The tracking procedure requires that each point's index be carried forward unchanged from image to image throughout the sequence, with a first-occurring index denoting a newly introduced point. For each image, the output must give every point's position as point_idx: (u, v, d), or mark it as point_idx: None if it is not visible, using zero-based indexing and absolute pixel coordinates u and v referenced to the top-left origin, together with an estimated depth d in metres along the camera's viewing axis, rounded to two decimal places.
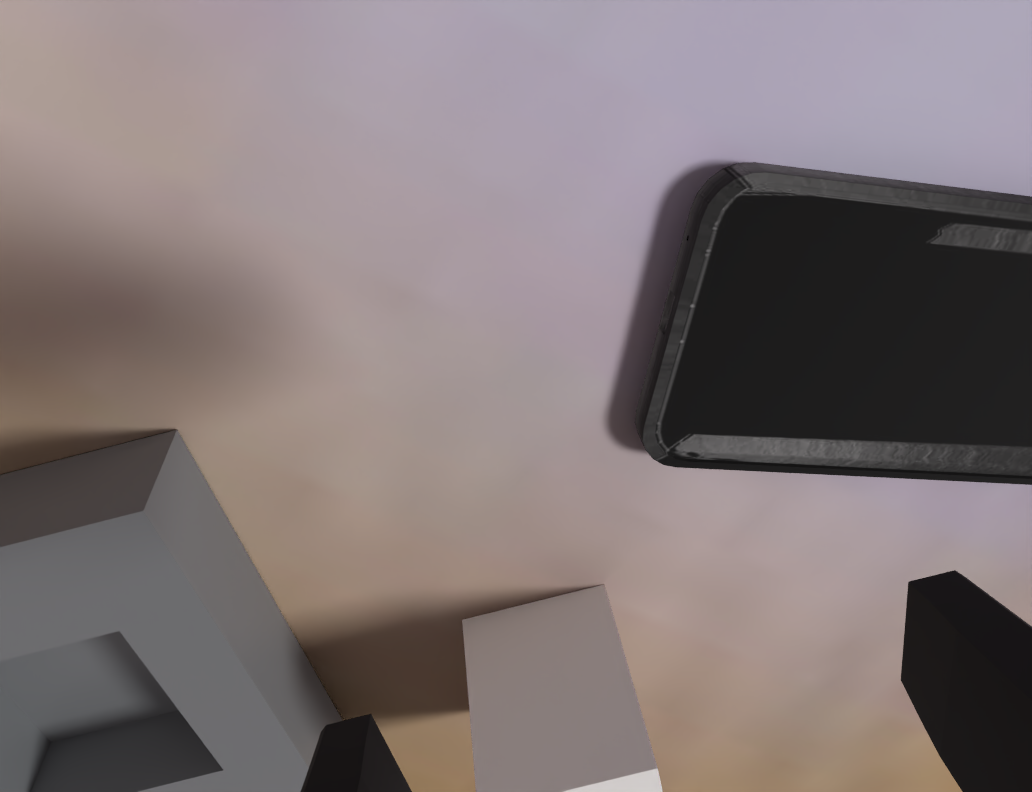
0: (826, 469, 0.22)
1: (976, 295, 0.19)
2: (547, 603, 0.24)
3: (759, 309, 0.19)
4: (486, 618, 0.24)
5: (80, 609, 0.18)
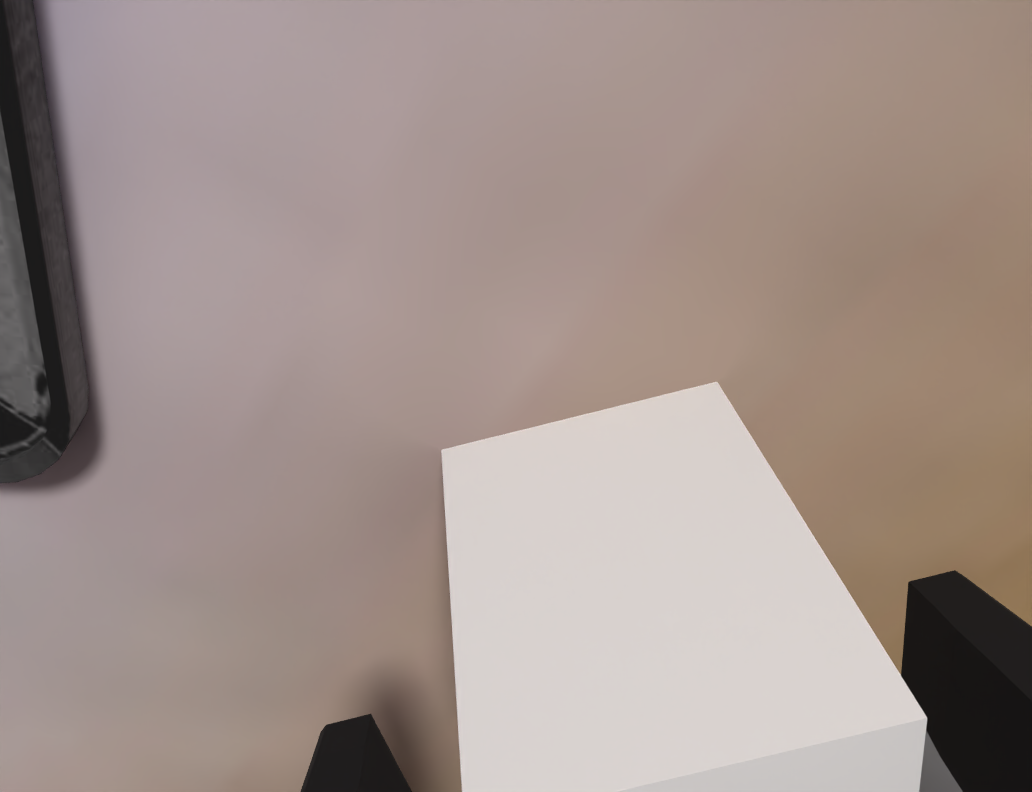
0: None
1: None
2: None
3: None
4: None
5: None
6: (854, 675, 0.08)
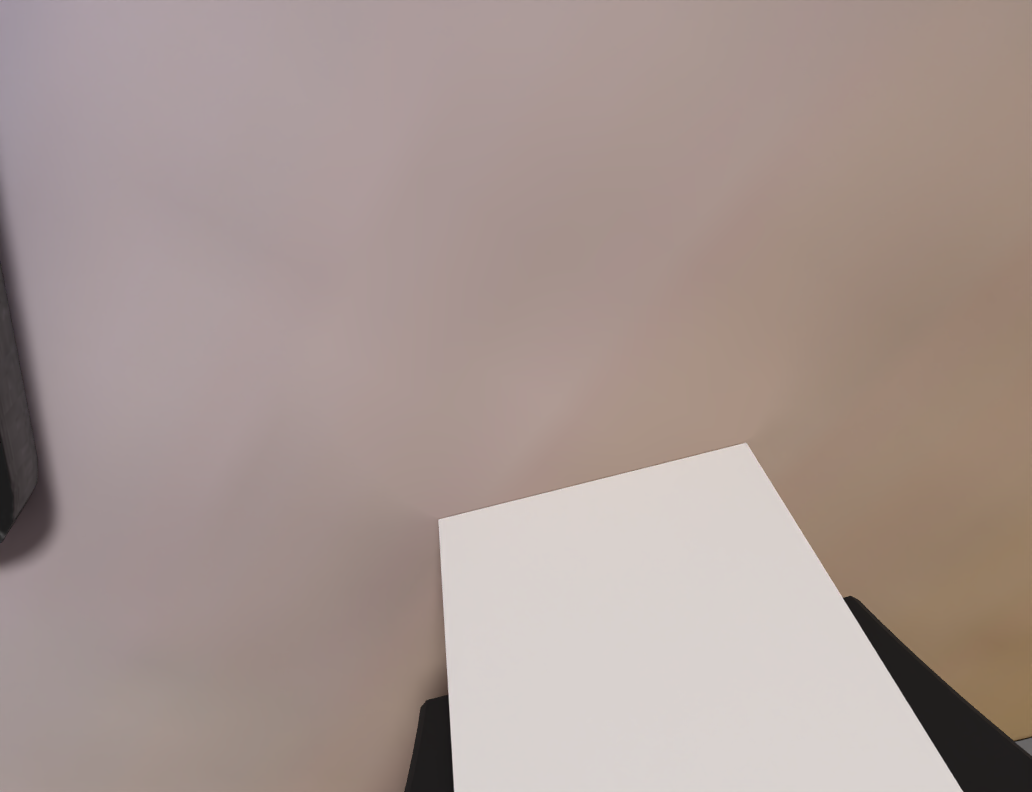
0: None
1: None
2: None
3: None
4: None
5: None
6: None
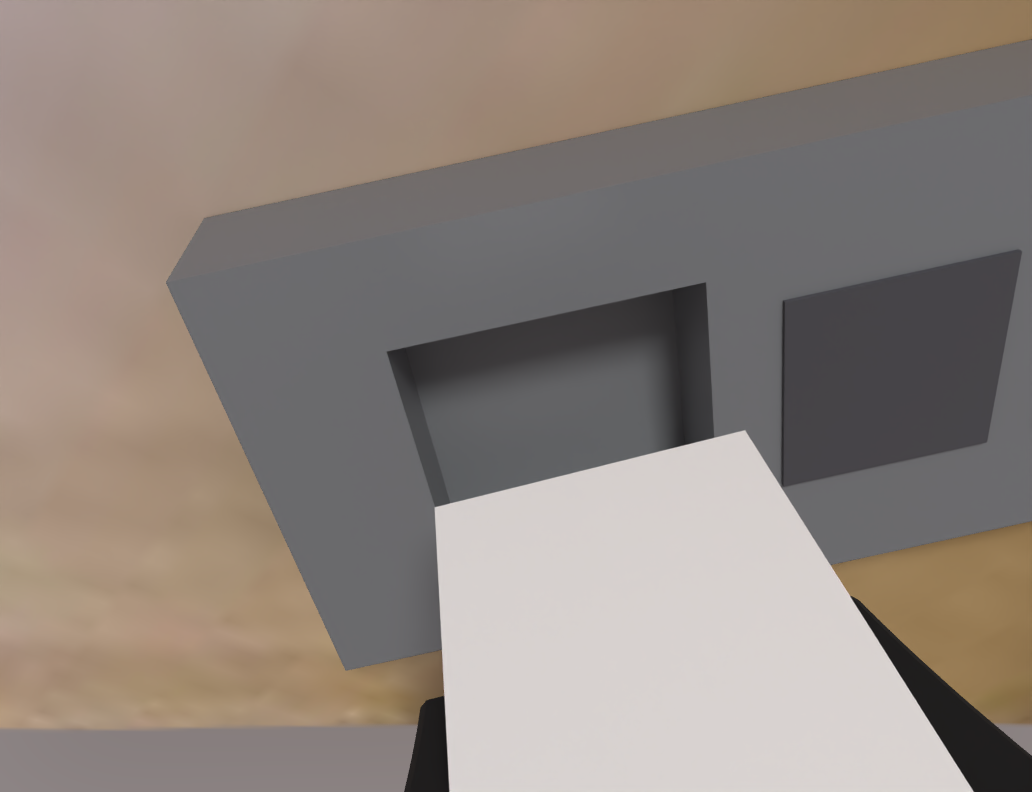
0: None
1: None
2: None
3: None
4: None
5: (343, 383, 0.14)
6: None
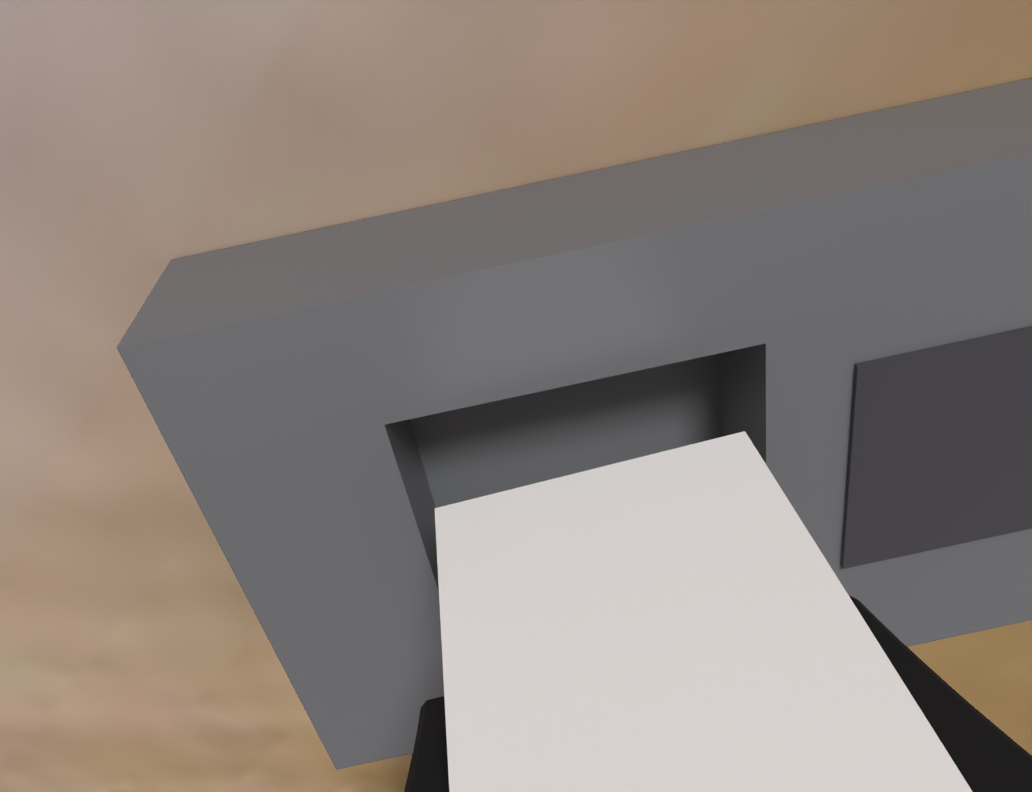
0: None
1: None
2: None
3: None
4: None
5: (333, 460, 0.12)
6: None
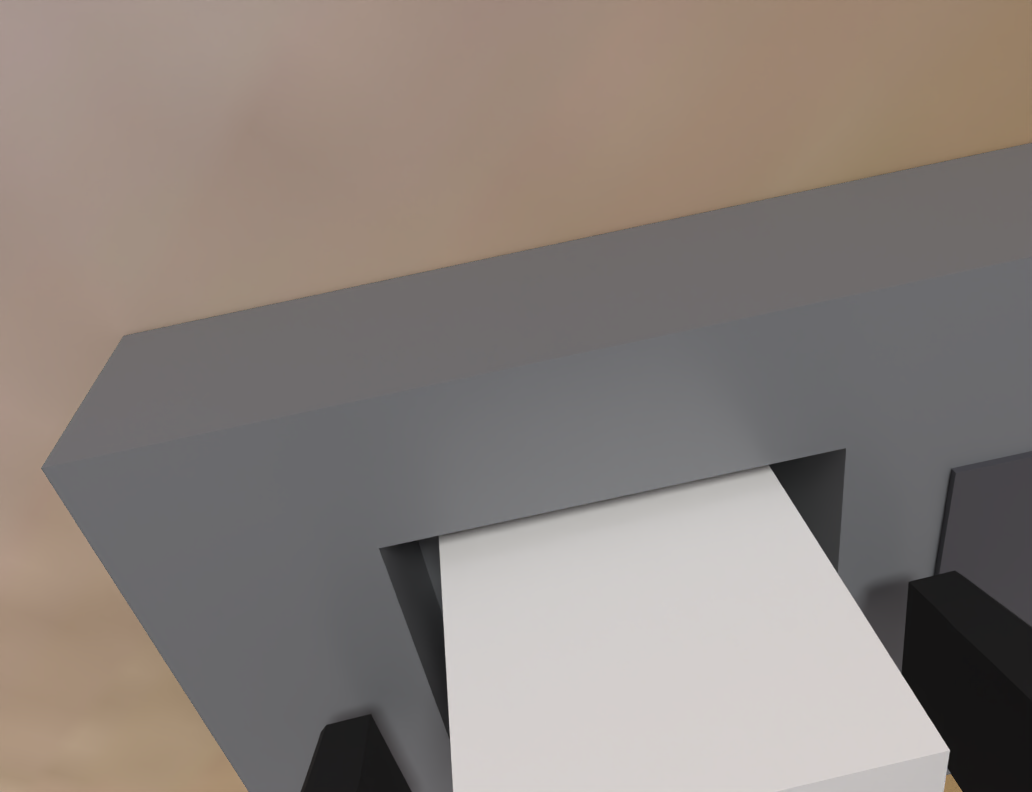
0: None
1: None
2: None
3: None
4: None
5: (316, 589, 0.10)
6: (871, 703, 0.07)
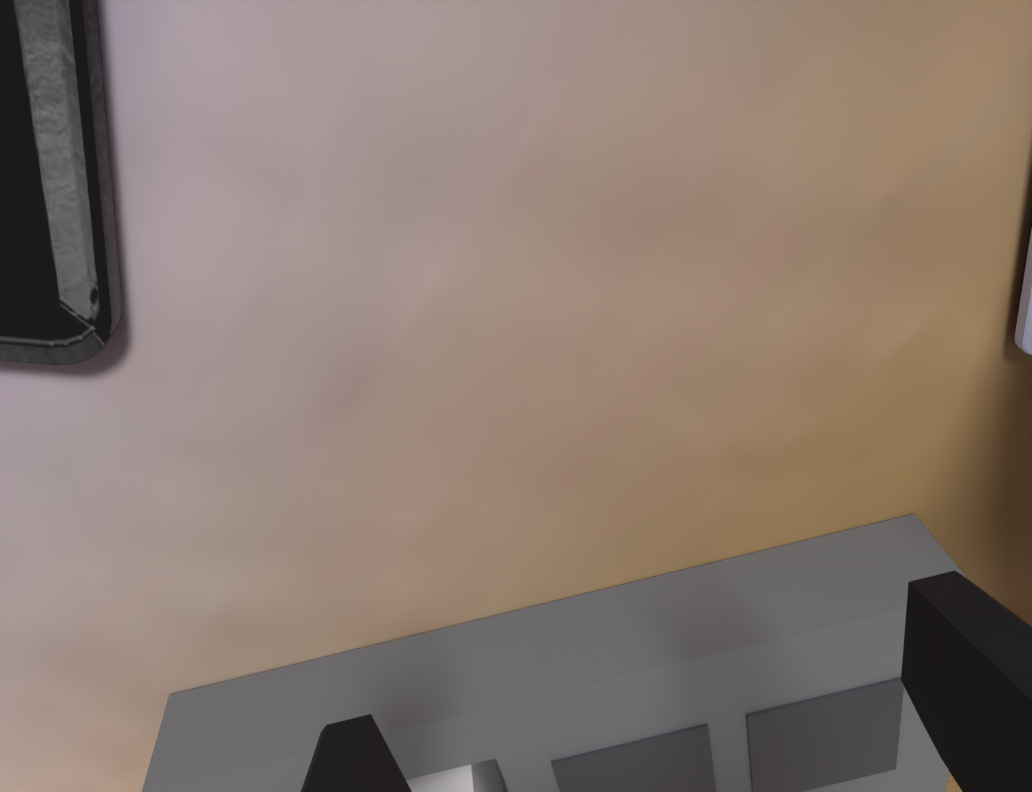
0: (80, 101, 0.14)
1: None
2: None
3: None
4: None
5: None
6: None
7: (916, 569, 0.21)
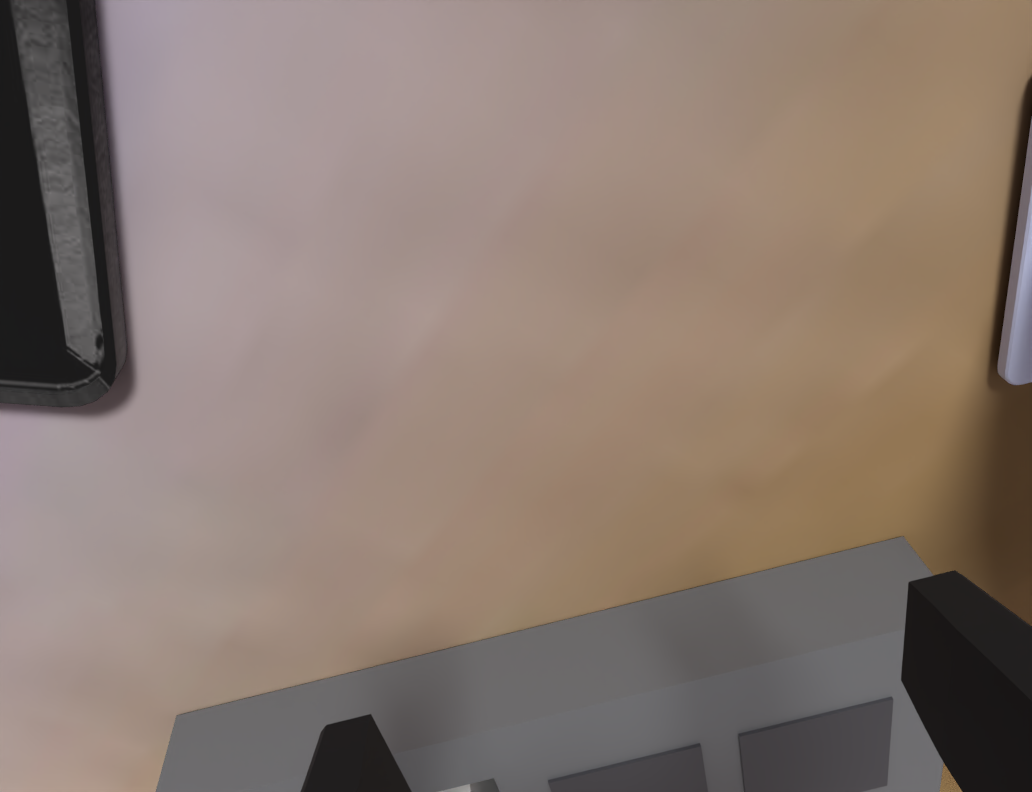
0: (85, 161, 0.14)
1: None
2: None
3: None
4: None
5: None
6: None
7: (903, 592, 0.22)
